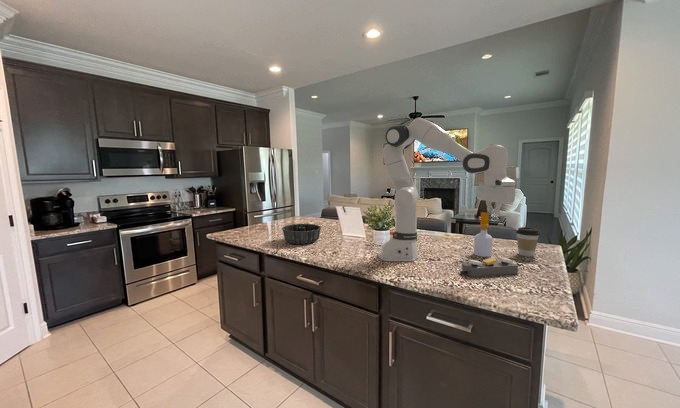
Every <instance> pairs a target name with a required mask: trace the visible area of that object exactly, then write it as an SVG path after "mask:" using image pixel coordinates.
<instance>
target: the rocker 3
mask: <svg viewBox="0 0 680 408" xmlns="http://www.w3.org/2000/svg"><path fill="white" fill-rule="evenodd" d="M497 261H503V262H508V263H514V261H513V260H512V259H509V258H506V257H499V256H498V260H497Z"/></svg>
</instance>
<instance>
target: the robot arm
mask: <svg viewBox="0 0 680 408" xmlns="http://www.w3.org/2000/svg"><path fill="white" fill-rule="evenodd" d="M384 138H385V141H386V143H387V144H386V145H384V147H383V149H382V157H383V162H384V165H385V168H386V171H387V175H388V177H389V180H390V182H391V183H392V186H393V187H394V189H395V191H396V192H395V194H394V209H395V219H396V220H395V231H392V230H390V232H389V235H391V236H392V237H391V238H390V239H389V240H388V241H387V242H385V243H383V245H382V248H381V251H380V252H378V253H377V257H378V258H379V259H381V260H382V261H385V262H415V261H416V260H417V259H419V253H418V252H419V251H418V246H417V245H418V243H417V241H418V231H417V226H418V225H417V223H418V216H417V201H418V200H419V192H418V189H417V187H416V184H415V182H414V180H413V177H412V175H411V172H410V170H409V167H408V164H407V161H406V158H405V155H404V150H406V149H407V148H409V146H411V145H412V144H413V143H414V142H415V141H417V142H419V143H420V144H422V145H423V146H425V147H426V148H429V149H431V150H434V151H437V152H438V151H439V152H442V153H446V154H448V155H450V156H452V157H454V158H455V159H457V160H459V161H460V162H462V167H463V170H464V171H466V173H469V174H472V175H482V174H484V176H483V177H484V179H483V180H481V181H480V182H479V183H478V187H477V190H476V199H477V200H480V201H485V204H486V207H487V208H486V209H487V211H488V212H494V213H500V209H501V207H502V206H503V204H508V205H511V204H514V203H515V200H516V188H515V186H516V181H515V180H513V179H511V178H510V177H508V176H507V174H508V172H507V167H508V164H509V163H508V159H509V156H508V155H509V154H508V149H507V148H506V147H505V146H504V145H500V144H489V145H487V146H486V147H484V148H481V149H480V150H478V151H475V152H473V151H471V150H469V149H468V148H467V147H464V146H462V145H461V144H460V143H458V142H456V141H455V140H454V139H453V137H451V136H450V135H449V134H448V133H447V132H446V130H444V128H441V127H440V126H439V125H437V124H436V123H434V122H432V121H430V120H429V119H425V118H422V117H416V118H414V119H413V120H411V122H410V124H409V125H404V124H403V125H402V124H401V125H400V124H399V125H398V124H397V125H393V126H391V127H389V128H388V129H387V130H386V132H385V137H384ZM493 202H494V203H495V207H494V206H492V203H493Z"/></svg>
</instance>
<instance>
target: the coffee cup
mask: <svg viewBox="0 0 680 408" xmlns="http://www.w3.org/2000/svg"><path fill="white" fill-rule="evenodd" d="M515 233H516V236H517V238H516V239H517V253H518V255H519V256H522V257H528V258H529V257H530V258H531V257H534V256H535V253H536V250H537V245H538V240H539V236H540V234H541V233H540V231H539V230H538V229H537V228H533V227H527V226H526V227H524V226H522V227H521V226H519V227H518V229H516V230H515Z"/></svg>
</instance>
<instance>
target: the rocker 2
mask: <svg viewBox="0 0 680 408" xmlns="http://www.w3.org/2000/svg"><path fill="white" fill-rule="evenodd" d="M497 261H498V260H497V259H496V258H494V257H490V258H489V257H488V258H487V259H483V260H482V262H483V263H484V264H486V265H490V264H493V263H496V262H497Z"/></svg>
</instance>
